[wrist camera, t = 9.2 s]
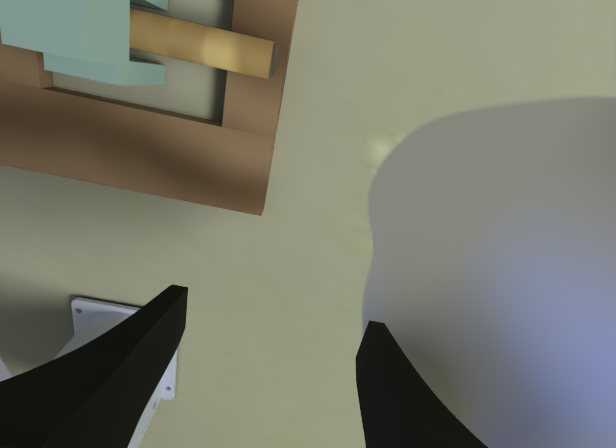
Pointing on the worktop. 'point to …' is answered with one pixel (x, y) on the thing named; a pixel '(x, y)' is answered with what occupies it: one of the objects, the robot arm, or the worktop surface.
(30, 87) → the board with dowel handle
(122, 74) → the stepped grey-green block
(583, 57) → the worktop surface
